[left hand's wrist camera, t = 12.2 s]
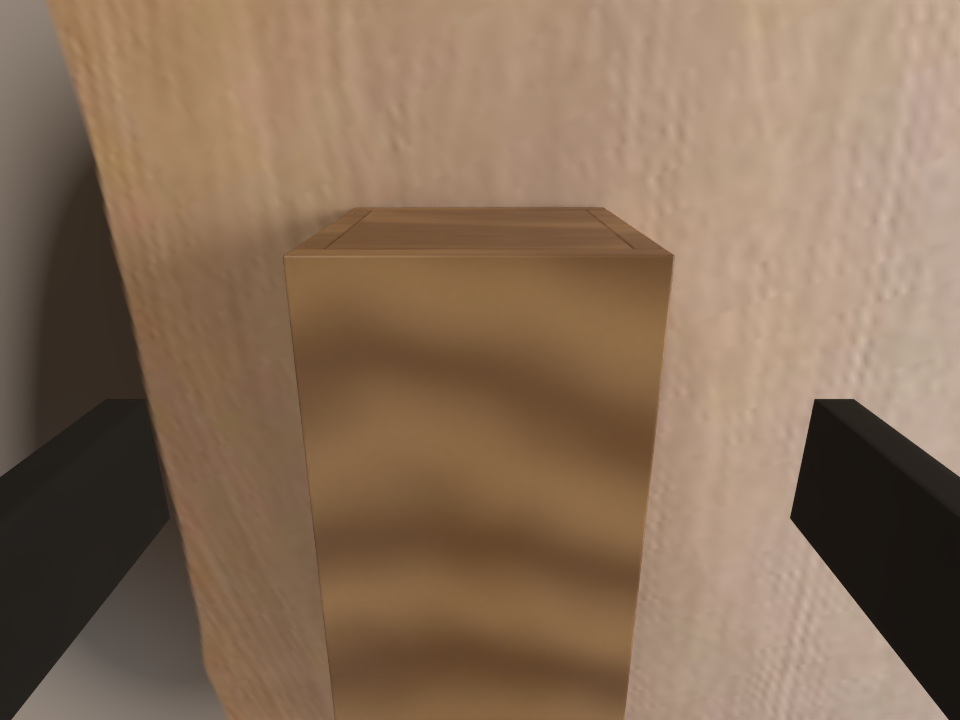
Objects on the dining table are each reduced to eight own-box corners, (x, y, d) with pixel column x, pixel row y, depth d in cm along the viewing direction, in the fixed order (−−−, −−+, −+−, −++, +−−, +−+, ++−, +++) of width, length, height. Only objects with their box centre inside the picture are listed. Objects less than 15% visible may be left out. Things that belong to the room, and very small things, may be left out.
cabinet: (579, 582, 32) (619, 768, 23) (380, 583, 32) (340, 769, 23) (604, 207, 26) (675, 254, 16) (353, 207, 26) (281, 255, 16)
